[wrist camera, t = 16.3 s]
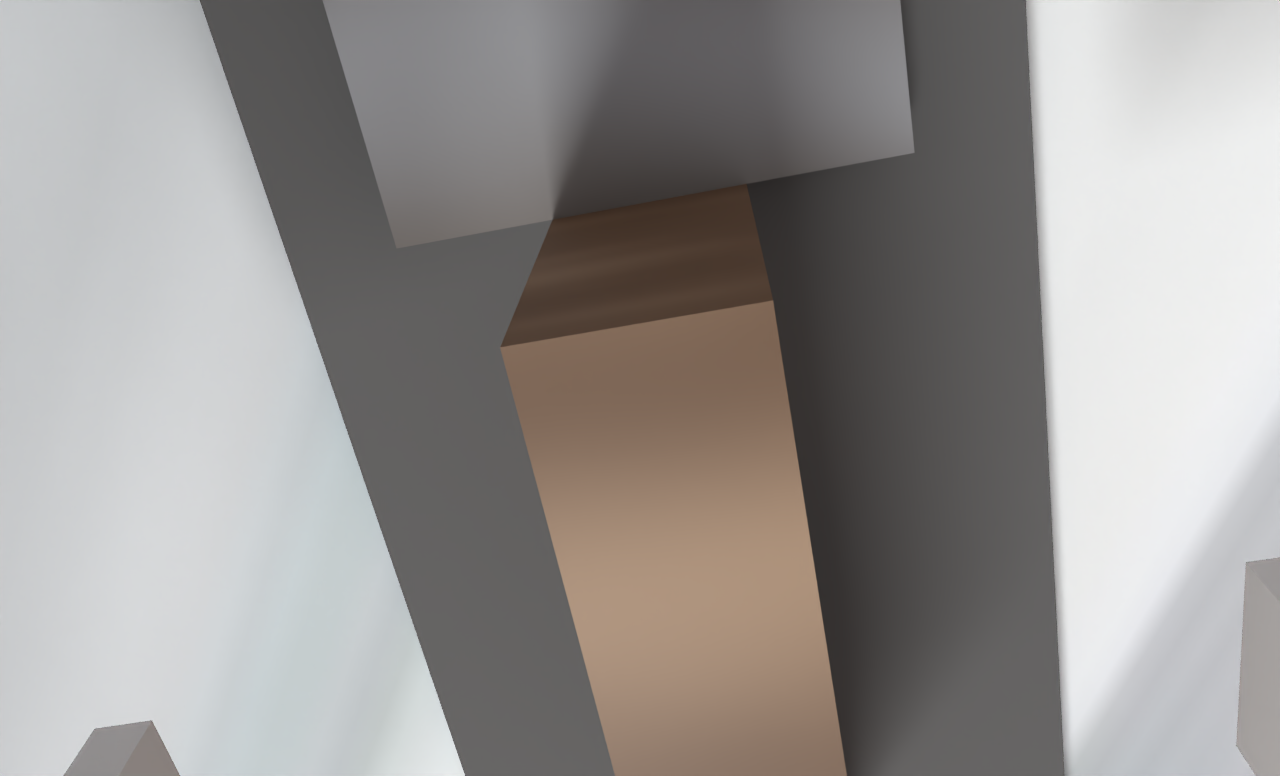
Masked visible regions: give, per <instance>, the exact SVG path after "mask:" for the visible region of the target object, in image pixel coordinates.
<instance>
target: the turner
mask: <svg viewBox="0 0 1280 776" xmlns="http://www.w3.org/2000/svg"><path fill="white" fill-rule="evenodd" d="M323 4H324V7H325V10H326V14H327V17H328V20H329V24H330V27H331V30H332V34H333V37H334V40H335V44H336V47H337V50H338V54H339V57H340V61H341V64H342V67H343V71H344V74H345V77H346V81H347V84H348V87H349V91H350V94H351V97H352V101H353V104H354V107H355V111H356V114H357V117H358V121H359V124H360V128H361V131H362V134H363V138H364V141H365V144H366V148H367V151H368V154H369V158H370V161H371V164H372V168H373V171H374V174H375V178H376V181H377V185H378V188H379V191H380V195H381V198H382V201H383V205H384V208H385V211H386V215H387V218H388V221H389V225H390V228H391V231H392V235H393V238H394V241H395V245H396V248H402V247H407V246H413V245H418V244H424V243H429V242H435V241H440V240H445V239H451V238H456V237H462V236H467V235H472V234H478V233H483V232H489V231H494V230H499V229H505V228H510V227H516V226H521V225H527V224H532V223H537V222H543V221H548V220H552V222H551V224H550V227H549V229H548V232H547V234H546V237H545V239H544V242H543V244H542V246H541V249H540V251H539V254H538V256H537V259H536V261H535V263H534V266H533V268H532V271H531V273H530V276H529V278H528V281H527V283H526V285H525V288H524V290H523V293H522V295H521V298H520V300H519V303H518V305H517V307H516V310H515V312H514V315H513V317H512V320H511V322H510V324H509V327H508V329H507V332H506V334H505V337H504V339H503V342H502V344H501V346H500V349H501V353H502V356H503V360H504V364H505V368H506V371H507V375H508V379H509V383H510V386H511V390H512V394H513V397H514V401H515V405H516V409H517V412H518V416H519V420H520V423H521V427H522V431H523V435H524V438H525V442H526V446H527V450H528V453H529V457H530V461H531V464H532V468H533V472H534V476H535V479H536V483H537V487H538V490H539V494H540V498H541V502H542V505H543V509H544V513H545V517H546V520H547V524H548V528H549V531H550V535H551V539H552V543H553V546H554V550H555V554H556V557H557V561H558V565H559V569H560V572H561V576H562V580H563V584H564V587H565V591H566V595H567V598H568V602H569V606H570V610H571V613H572V617H573V621H574V625H575V628H576V632H577V636H578V639H579V643H580V647H581V651H582V654H583V658H584V662H585V665H586V669H587V673H588V677H589V680H590V684H591V688H592V692H593V695H594V699H595V703H596V706H597V710H598V714H599V718H600V721H601V725H602V729H603V732H604V736H605V740H606V744H607V747H608V751H609V755H610V759H611V762H612V766H613V770H614V773H615V776H847V773H846V766H845V760H844V754H843V747H842V741H841V734H840V728H839V721H838V715H837V709H836V702H835V696H834V689H833V683H832V676H831V670H830V664H829V657H828V651H827V644H826V638H825V631H824V625H823V618H822V612H821V606H820V599H819V593H818V586H817V580H816V573H815V567H814V561H813V554H812V548H811V541H810V535H809V528H808V522H807V516H806V509H805V503H804V496H803V490H802V483H801V477H800V470H799V464H798V458H797V451H796V445H795V438H794V432H793V425H792V419H791V413H790V406H789V400H788V393H787V387H786V380H785V374H784V368H783V361H782V355H781V348H780V342H779V335H778V329H777V322H776V316H775V310H774V303H773V298H772V294H771V289H770V285H769V280H768V276H767V272H766V267H765V263H764V258H763V254H762V250H761V245H760V241H759V236H758V232H757V228H756V223H755V219H754V214H753V210H752V206H751V201H750V197H749V192H748V188H747V184H748V183H754V182H759V181H765V180H770V179H776V178H781V177H786V176H792V175H797V174H803V173H808V172H813V171H819V170H824V169H830V168H835V167H840V166H846V165H851V164H857V163H862V162H868V161H873V160H878V159H884V158H889V157H895V156H900V155H905V154H911V153H915V152H914V141H913V131H912V120H911V110H910V99H909V88H908V78H907V67H906V56H905V46H904V35H903V24H902V14H901V3H900V0H323Z"/></svg>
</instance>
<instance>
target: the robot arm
mask: <svg viewBox="0 0 1280 776" xmlns="http://www.w3.org/2000/svg"><path fill="white" fill-rule="evenodd" d="M1236 746H1237V747H1238V749H1239V751H1240V752H1241V754H1242V755H1243V757H1244V758H1245V760H1246V761H1247V763H1248V764H1249V766H1250V767H1251V769H1252V770H1253V772H1254V774H1255V775H1256V776H1280V558H1273V559H1266V560H1259V561H1252V562H1246V571H1245V591H1244V610H1243V629H1242V648H1241V667H1240V686H1239V705H1238V724H1237V743H1236ZM64 776H180V775H179V773H178V771H177V769H176V767H175V765H174V763H173V761H172V759H171V757H170V755H169V753H168V751H167V749H166V747H165V745H164V743H163V741H162V740H161V738H160V736H159V734H158V732H157V730H156V728H155V726H154V724H153V722H152V721H145V722H138V723H131V724H124V725H117V726H111V727H104V728H97V729H94V731H93V732H92V734H91V735H90V737H89V738H88V740H87V741H86V743H85V744H84V746H83V747H82V749H81V750H80V752H79V753H78V755H77V756H76V758H75V759H74V761H73V762H72V764H71V765H70V767H69V768H68V770H67V771H66V773H65V774H64Z"/></svg>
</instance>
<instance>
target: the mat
mask: <svg viewBox="0 0 1280 776" xmlns="http://www.w3.org/2000/svg"><path fill="white" fill-rule="evenodd" d="M200 2H201V5H202V8H203V11H204V14H205V17H206V20H207V23H208V25H209V28H210V31H211V34H212V37H213V40H214V43H215V46H216V49H217V52H218V55H219V58H220V61H221V63H222V66H223V69H224V72H225V75H226V78H227V81H228V84H229V87H230V90H231V93H232V96H233V98H234V101H235V104H236V107H237V110H238V113H239V116H240V119H241V122H242V125H243V128H244V131H245V134H246V136H247V139H248V142H249V145H250V148H251V151H252V154H253V157H254V160H255V163H256V166H257V169H258V172H259V174H260V177H261V180H262V183H263V186H264V189H265V192H266V195H267V198H268V201H269V204H270V207H271V209H272V212H273V215H274V218H275V221H276V224H277V227H278V230H279V233H280V236H281V239H282V242H283V245H284V247H285V250H286V253H287V256H288V259H289V262H290V265H291V268H292V271H293V274H294V277H295V280H296V282H297V285H298V288H299V291H300V294H301V297H302V300H303V303H304V306H305V309H306V312H307V315H308V318H309V320H310V323H311V326H312V329H313V332H314V335H315V338H316V341H317V344H318V347H319V350H320V353H321V356H322V358H323V361H324V364H325V367H326V370H327V373H328V376H329V379H330V382H331V385H332V388H333V391H334V393H335V396H336V399H337V402H338V405H339V408H340V411H341V414H342V417H343V420H344V423H345V426H346V429H347V431H348V434H349V437H350V440H351V443H352V446H353V449H354V452H355V455H356V458H357V461H358V464H359V466H360V469H361V472H362V475H363V478H364V481H365V484H366V487H367V490H368V493H369V496H370V499H371V502H372V504H373V507H374V510H375V513H376V516H377V519H378V522H379V525H380V528H381V531H382V534H383V537H384V540H385V542H386V545H387V548H388V551H389V554H390V557H391V560H392V563H393V566H394V569H395V572H396V575H397V577H398V580H399V583H400V586H401V589H402V592H403V595H404V598H405V601H406V604H407V607H408V610H409V613H410V615H411V618H412V621H413V624H414V627H415V630H416V633H417V636H418V639H419V642H420V645H421V648H422V650H423V653H424V656H425V659H426V662H427V665H428V668H429V671H430V674H431V677H432V680H433V683H434V686H435V688H436V691H437V694H438V697H439V700H440V703H441V706H442V709H443V712H444V715H445V718H446V721H447V724H448V726H449V729H450V732H451V735H452V738H453V741H454V744H455V747H456V750H457V753H458V756H459V759H460V761H461V764H462V767H463V770H464V773H465V776H615V773H614V770H613V766H612V762H611V759H610V755H609V751H608V747H607V744H606V740H605V736H604V732H603V729H602V725H601V721H600V718H599V714H598V710H597V706H596V703H595V699H594V695H593V692H592V688H591V684H590V680H589V677H588V673H587V669H586V665H585V662H584V658H583V654H582V651H581V647H580V643H579V639H578V636H577V632H576V628H575V625H574V621H573V617H572V613H571V610H570V606H569V602H568V598H567V595H566V591H565V587H564V584H563V580H562V576H561V572H560V569H559V565H558V561H557V557H556V554H555V550H554V546H553V543H552V539H551V535H550V531H549V528H548V524H547V520H546V517H545V513H544V509H543V505H542V502H541V498H540V494H539V490H538V487H537V483H536V479H535V476H534V472H533V468H532V464H531V461H530V457H529V453H528V450H527V446H526V442H525V438H524V435H523V431H522V427H521V423H520V420H519V416H518V412H517V409H516V405H515V401H514V397H513V394H512V390H511V386H510V383H509V379H508V375H507V371H506V368H505V364H504V360H503V356H502V353H501V349H500V346H501V344H502V342H503V339H504V337H505V334H506V332H507V329H508V327H509V324H510V322H511V320H512V317H513V315H514V312H515V310H516V307H517V305H518V303H519V300H520V298H521V295H522V293H523V290H524V288H525V285H526V283H527V281H528V278H529V276H530V273H531V271H532V268H533V266H534V263H535V261H536V259H537V256H538V254H539V251H540V249H541V246H542V244H543V242H544V239H545V237H546V234H547V232H548V229H549V227H550V224H551V222H552V220H548V221H543V222H537V223H532V224H527V225H521V226H516V227H510V228H505V229H499V230H494V231H489V232H483V233H478V234H472V235H467V236H462V237H456V238H451V239H445V240H440V241H435V242H429V243H424V244H418V245H413V246H407V247H402V248H396V245H395V241H394V238H393V235H392V231H391V228H390V225H389V221H388V218H387V215H386V211H385V208H384V205H383V201H382V198H381V195H380V191H379V188H378V185H377V181H376V178H375V174H374V171H373V168H372V164H371V161H370V158H369V154H368V151H367V148H366V144H365V141H364V138H363V134H362V131H361V128H360V124H359V121H358V117H357V114H356V111H355V107H354V104H353V101H352V97H351V94H350V91H349V87H348V84H347V81H346V77H345V74H344V71H343V67H342V64H341V61H340V57H339V54H338V50H337V47H336V44H335V40H334V37H333V34H332V30H331V27H330V24H329V20H328V17H327V14H326V10H325V7H324V4H323V0H200ZM900 3H901V14H902V24H903V35H904V46H905V56H906V67H907V78H908V88H909V99H910V110H911V120H912V131H913V141H914V152H915V153H911V154H905V155H900V156H895V157H889V158H884V159H878V160H873V161H868V162H862V163H857V164H851V165H846V166H840V167H835V168H830V169H824V170H819V171H813V172H808V173H803V174H797V175H792V176H786V177H781V178H776V179H770V180H765V181H759V182H754V183H748V184H747V188H748V192H749V197H750V201H751V206H752V210H753V214H754V219H755V223H756V228H757V232H758V236H759V241H760V245H761V250H762V254H763V258H764V263H765V267H766V272H767V276H768V280H769V285H770V289H771V294H772V298H773V303H774V310H775V316H776V322H777V329H778V335H779V342H780V348H781V355H782V361H783V368H784V374H785V380H786V387H787V393H788V400H789V406H790V413H791V419H792V425H793V432H794V438H795V445H796V451H797V458H798V464H799V470H800V477H801V483H802V490H803V496H804V503H805V509H806V516H807V522H808V528H809V535H810V541H811V548H812V554H813V561H814V567H815V573H816V580H817V586H818V593H819V599H820V606H821V612H822V618H823V625H824V631H825V638H826V644H827V651H828V657H829V664H830V670H831V676H832V683H833V689H834V696H835V702H836V709H837V715H838V721H839V728H840V734H841V741H842V747H843V754H844V760H845V766H846V773H847V776H1064V762H1063V742H1062V722H1061V702H1060V682H1059V662H1058V642H1057V622H1056V602H1055V582H1054V562H1053V542H1052V522H1051V502H1050V482H1049V462H1048V442H1047V422H1046V402H1045V382H1044V362H1043V342H1042V322H1041V302H1040V282H1039V262H1038V242H1037V222H1036V202H1035V182H1034V162H1033V142H1032V122H1031V102H1030V82H1029V62H1028V42H1027V22H1026V2H1025V0H900Z"/></svg>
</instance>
